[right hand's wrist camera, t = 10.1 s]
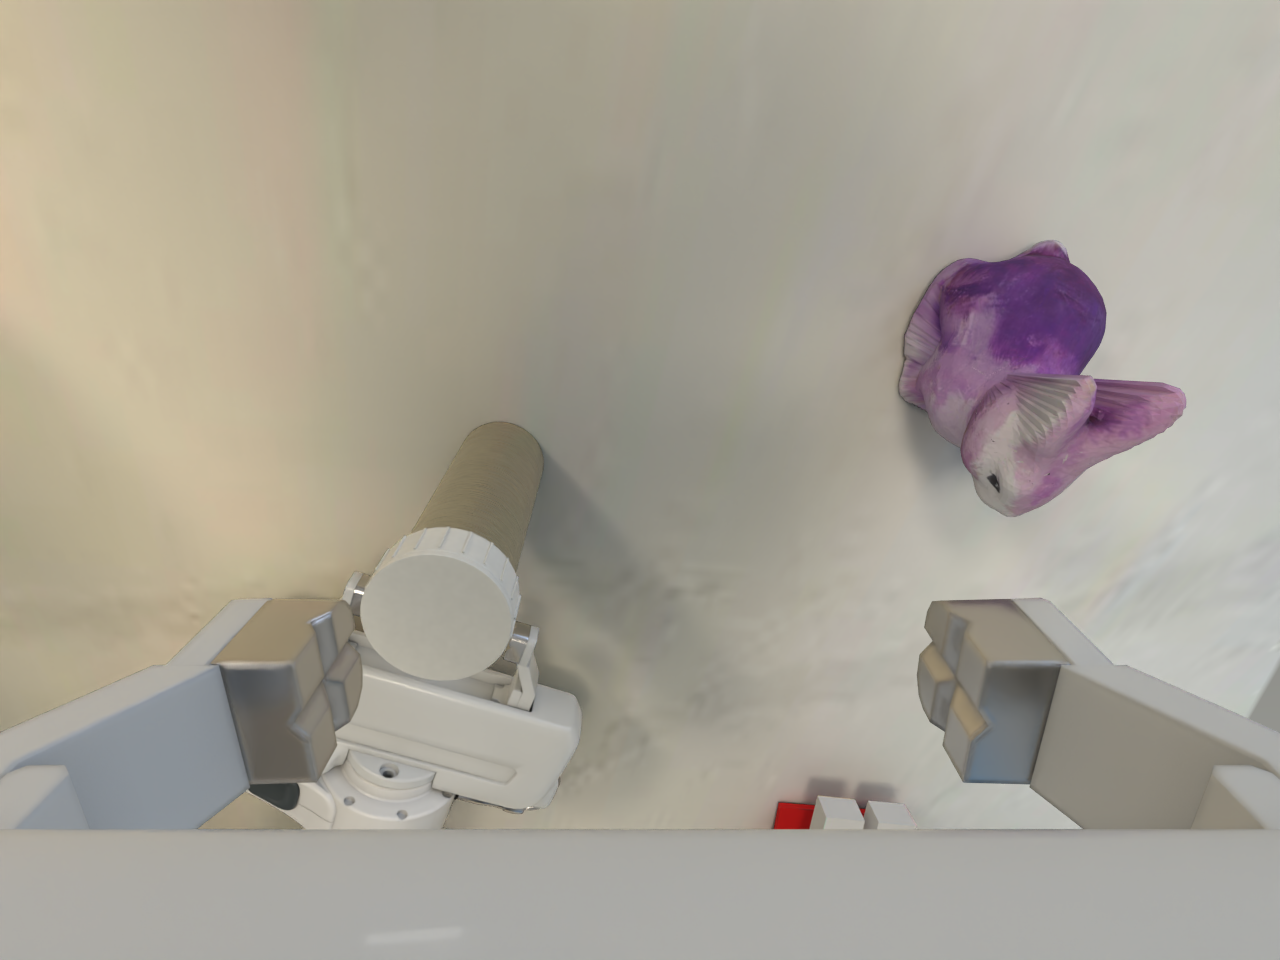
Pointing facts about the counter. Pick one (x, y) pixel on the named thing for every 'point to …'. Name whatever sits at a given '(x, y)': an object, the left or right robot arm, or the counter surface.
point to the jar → (490, 488)
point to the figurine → (1024, 376)
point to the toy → (843, 815)
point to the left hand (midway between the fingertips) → (447, 605)
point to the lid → (441, 604)
